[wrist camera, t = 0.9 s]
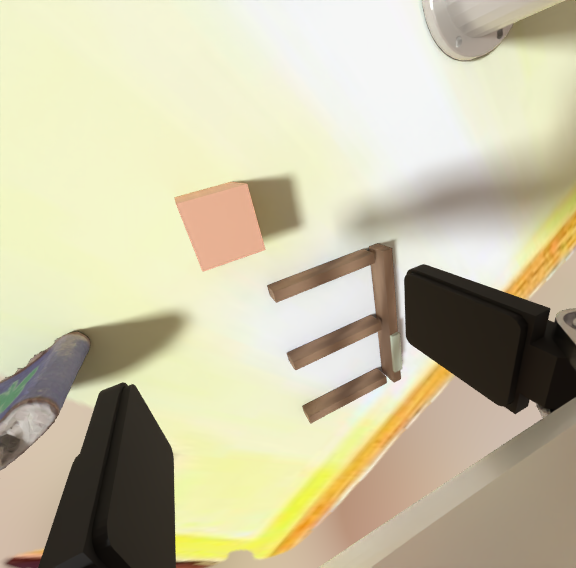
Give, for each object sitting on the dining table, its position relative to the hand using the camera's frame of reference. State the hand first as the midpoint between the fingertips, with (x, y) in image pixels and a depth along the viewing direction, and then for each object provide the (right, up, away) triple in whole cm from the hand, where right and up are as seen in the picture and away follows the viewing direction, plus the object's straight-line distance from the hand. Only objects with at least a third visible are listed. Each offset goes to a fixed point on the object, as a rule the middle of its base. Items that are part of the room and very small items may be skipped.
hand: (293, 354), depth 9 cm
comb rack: (+5, -4, +26) cm, 27 cm away
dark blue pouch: (-21, -5, +15) cm, 27 cm away
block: (-7, +8, +16) cm, 20 cm away
